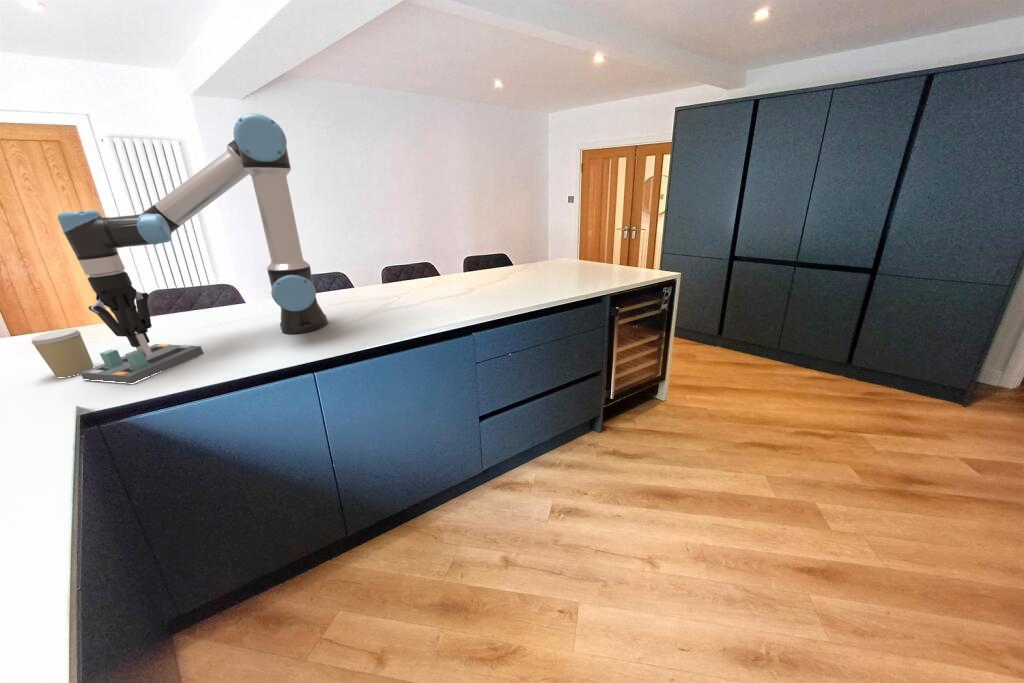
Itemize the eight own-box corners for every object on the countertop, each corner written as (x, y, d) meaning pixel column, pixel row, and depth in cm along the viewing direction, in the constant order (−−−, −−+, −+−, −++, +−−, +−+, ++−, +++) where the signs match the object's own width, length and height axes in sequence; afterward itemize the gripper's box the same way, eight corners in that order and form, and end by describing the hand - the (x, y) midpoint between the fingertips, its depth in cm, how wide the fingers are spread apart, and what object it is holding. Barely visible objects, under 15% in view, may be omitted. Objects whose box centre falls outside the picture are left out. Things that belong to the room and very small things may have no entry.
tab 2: (153, 367, 110) (145, 349, 108) (138, 373, 107) (129, 355, 105) (145, 366, 111) (137, 349, 109) (130, 372, 107) (121, 355, 105)
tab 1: (128, 365, 112) (120, 348, 110) (112, 372, 108) (104, 354, 106) (120, 365, 113) (112, 348, 111) (105, 371, 109) (95, 354, 107)
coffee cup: (74, 366, 117) (53, 329, 112) (107, 363, 117) (88, 327, 113) (42, 381, 108) (18, 342, 104) (77, 378, 109) (56, 339, 104)
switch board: (203, 353, 121) (200, 345, 120) (133, 384, 103) (129, 375, 102) (159, 351, 125) (155, 343, 124) (84, 380, 107) (79, 372, 106)
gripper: (123, 268, 107) (159, 345, 116) (65, 280, 95) (110, 365, 105) (144, 267, 105) (179, 346, 114) (87, 279, 94) (131, 366, 103)
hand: (146, 355), depth 109 cm, fingers closed
